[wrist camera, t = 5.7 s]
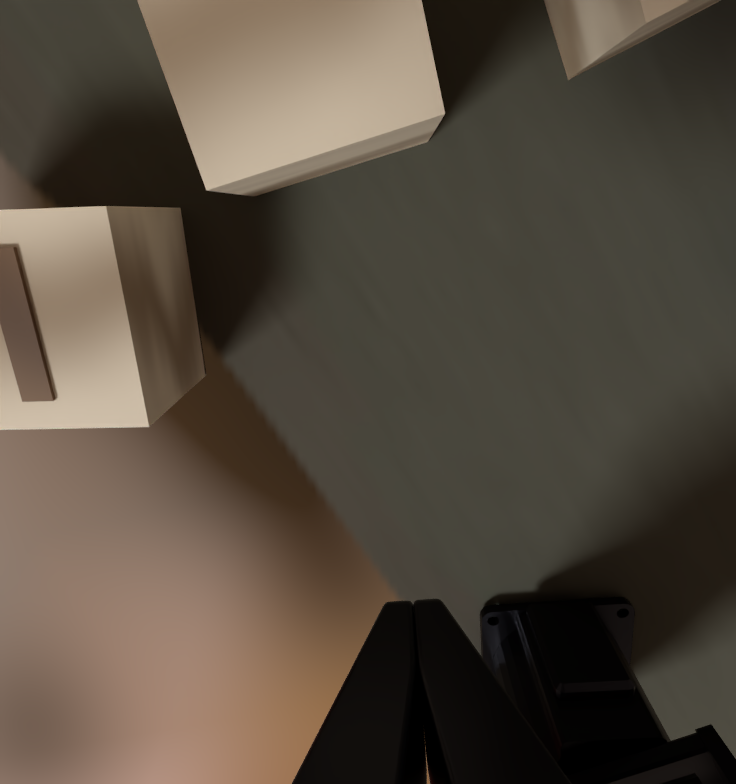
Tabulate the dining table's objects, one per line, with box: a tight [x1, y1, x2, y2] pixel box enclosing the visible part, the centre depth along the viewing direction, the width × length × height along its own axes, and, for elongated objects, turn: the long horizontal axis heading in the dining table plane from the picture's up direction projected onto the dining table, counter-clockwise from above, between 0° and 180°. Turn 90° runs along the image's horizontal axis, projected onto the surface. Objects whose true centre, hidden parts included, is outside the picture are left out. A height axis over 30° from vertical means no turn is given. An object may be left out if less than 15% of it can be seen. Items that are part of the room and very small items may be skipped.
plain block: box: [137, 0, 445, 197], centre depth 13 cm, size 6×6×5 cm
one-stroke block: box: [0, 206, 206, 430], centre depth 16 cm, size 6×6×5 cm
